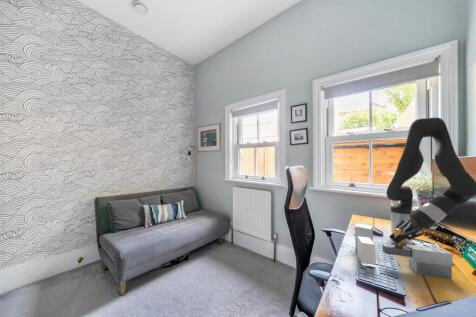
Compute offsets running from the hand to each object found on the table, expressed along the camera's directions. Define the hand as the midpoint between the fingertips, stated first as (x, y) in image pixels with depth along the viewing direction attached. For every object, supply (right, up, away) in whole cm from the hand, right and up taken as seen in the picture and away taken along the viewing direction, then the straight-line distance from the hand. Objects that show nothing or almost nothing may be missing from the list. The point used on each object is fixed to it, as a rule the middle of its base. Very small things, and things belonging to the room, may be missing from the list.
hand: (393, 240), depth 82 cm
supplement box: (-1, -13, +16) cm, 21 cm away
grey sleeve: (+11, -12, -4) cm, 17 cm away
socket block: (-10, -12, +3) cm, 16 cm away
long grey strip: (+6, -6, -2) cm, 9 cm away
